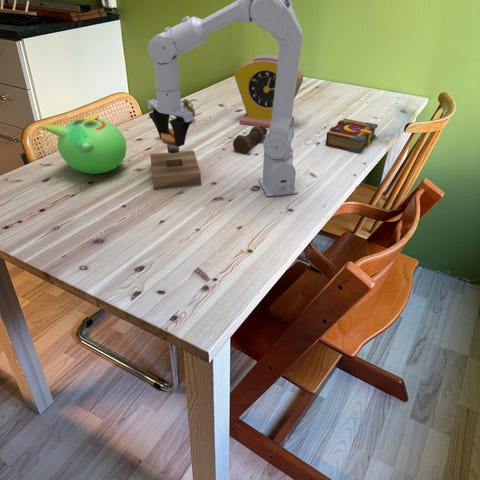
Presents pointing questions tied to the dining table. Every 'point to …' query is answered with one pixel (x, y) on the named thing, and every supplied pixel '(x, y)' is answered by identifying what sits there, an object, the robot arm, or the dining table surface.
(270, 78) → the yellow mantel clock
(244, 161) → the dining table surface
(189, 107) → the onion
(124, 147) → the toy bird
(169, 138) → the orange short cylinder
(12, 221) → the dining table surface
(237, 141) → the bolt
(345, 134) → the decorative book
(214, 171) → the dining table surface
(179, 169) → the block
